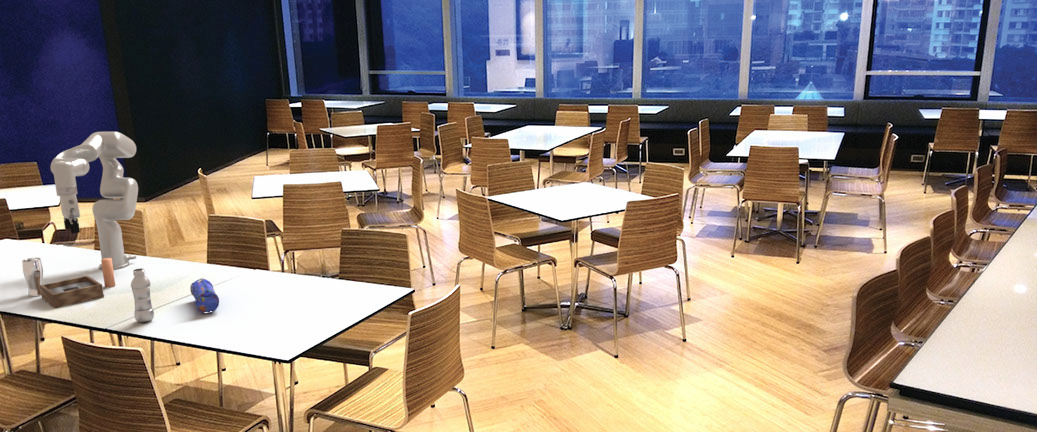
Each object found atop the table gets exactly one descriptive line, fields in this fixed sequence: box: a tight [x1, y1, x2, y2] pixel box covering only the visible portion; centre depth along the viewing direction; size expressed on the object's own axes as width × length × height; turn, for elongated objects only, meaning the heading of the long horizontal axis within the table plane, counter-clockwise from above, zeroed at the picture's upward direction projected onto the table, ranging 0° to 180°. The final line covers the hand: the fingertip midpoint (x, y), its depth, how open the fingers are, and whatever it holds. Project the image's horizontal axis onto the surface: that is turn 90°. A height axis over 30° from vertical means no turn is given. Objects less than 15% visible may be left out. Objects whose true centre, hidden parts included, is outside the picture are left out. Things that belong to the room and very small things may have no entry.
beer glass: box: [21, 257, 44, 298], centre depth 323 cm, size 7×7×15 cm
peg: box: [100, 258, 116, 289], centre depth 333 cm, size 4×4×12 cm
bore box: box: [40, 275, 105, 309], centre depth 319 cm, size 18×18×6 cm
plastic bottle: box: [130, 268, 155, 323], centre depth 290 cm, size 6×7×20 cm
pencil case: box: [189, 277, 220, 314], centre depth 307 cm, size 22×9×10 cm, turn 28°
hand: (72, 231), depth 329 cm, fingers open, 9 cm apart
